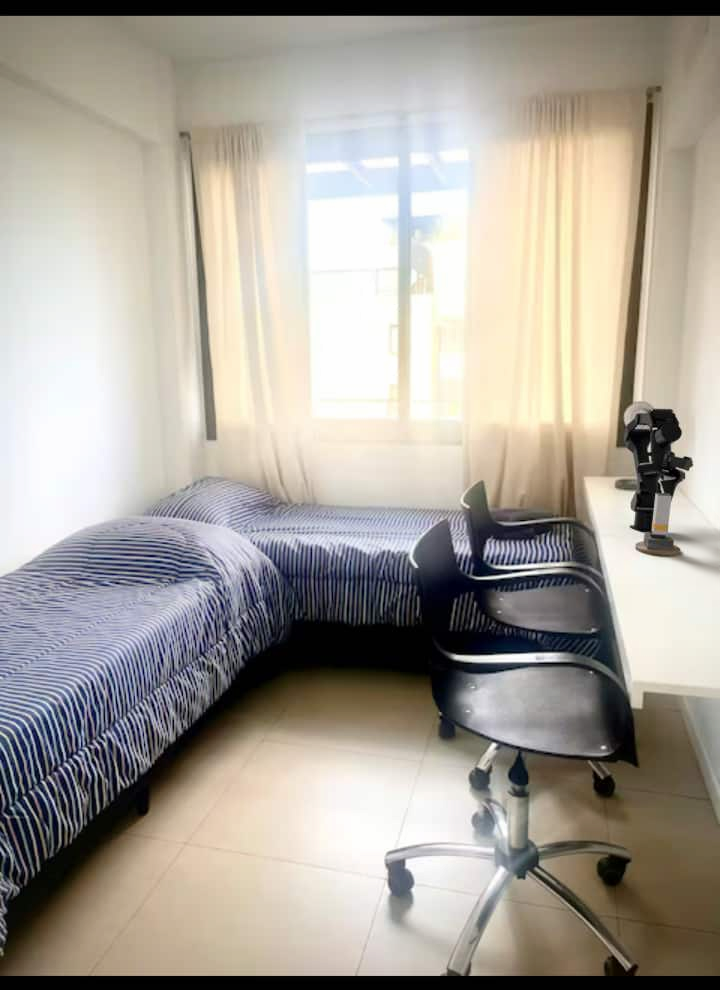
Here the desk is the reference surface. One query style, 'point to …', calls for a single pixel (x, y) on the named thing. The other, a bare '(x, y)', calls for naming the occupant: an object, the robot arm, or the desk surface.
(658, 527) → the post
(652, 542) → the stand base
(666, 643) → the desk surface
